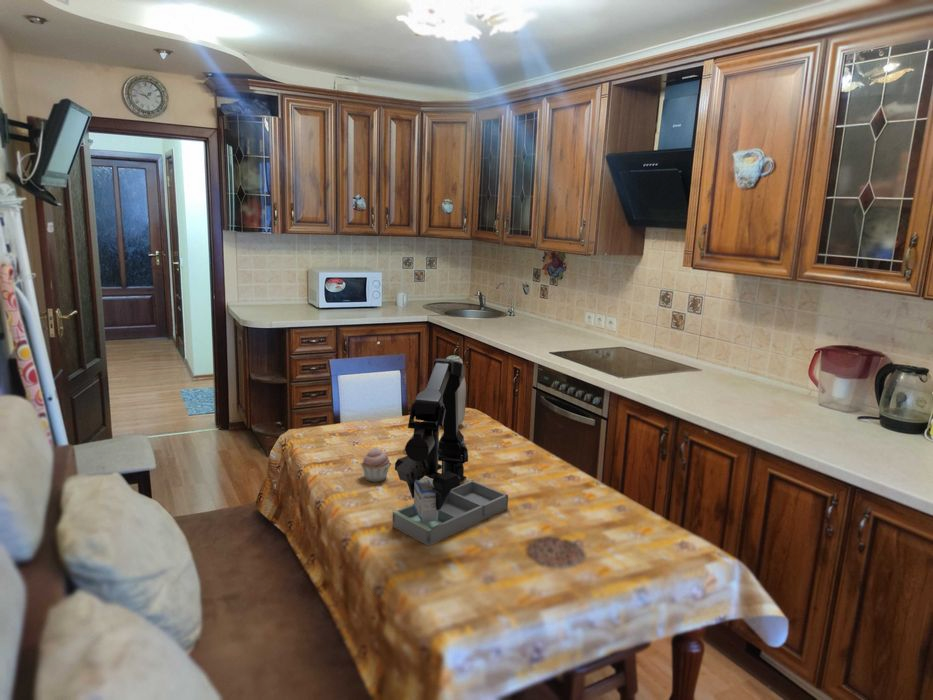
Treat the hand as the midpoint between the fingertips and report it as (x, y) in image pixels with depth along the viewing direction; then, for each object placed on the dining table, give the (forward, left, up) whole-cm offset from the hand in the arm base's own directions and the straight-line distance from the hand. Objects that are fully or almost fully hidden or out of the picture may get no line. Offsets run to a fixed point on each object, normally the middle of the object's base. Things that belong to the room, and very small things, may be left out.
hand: (426, 503), depth 161 cm
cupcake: (-34, +11, -7) cm, 36 cm away
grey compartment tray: (0, +10, -7) cm, 12 cm away
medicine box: (0, 0, -3) cm, 3 cm away
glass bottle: (-53, +63, -7) cm, 82 cm away
